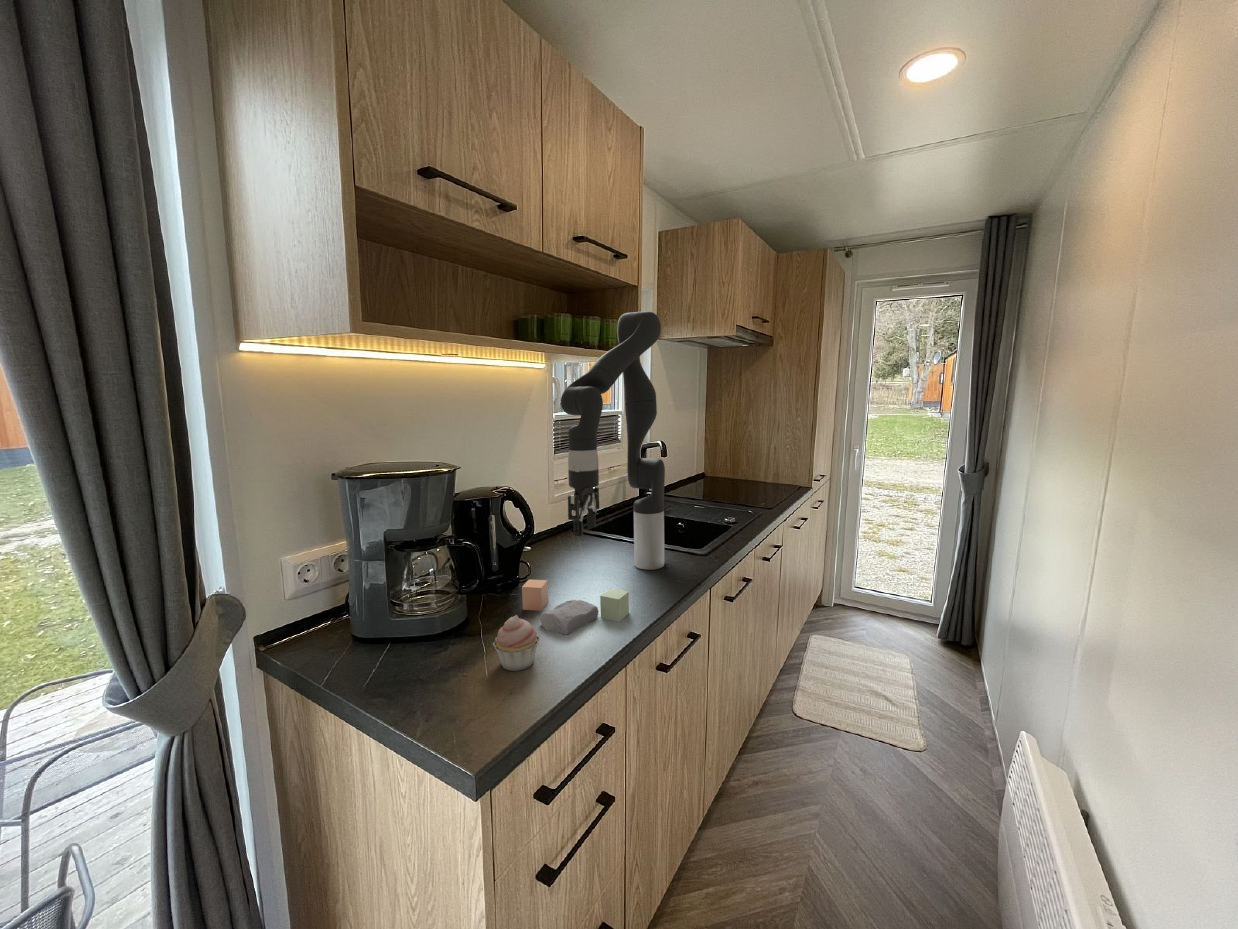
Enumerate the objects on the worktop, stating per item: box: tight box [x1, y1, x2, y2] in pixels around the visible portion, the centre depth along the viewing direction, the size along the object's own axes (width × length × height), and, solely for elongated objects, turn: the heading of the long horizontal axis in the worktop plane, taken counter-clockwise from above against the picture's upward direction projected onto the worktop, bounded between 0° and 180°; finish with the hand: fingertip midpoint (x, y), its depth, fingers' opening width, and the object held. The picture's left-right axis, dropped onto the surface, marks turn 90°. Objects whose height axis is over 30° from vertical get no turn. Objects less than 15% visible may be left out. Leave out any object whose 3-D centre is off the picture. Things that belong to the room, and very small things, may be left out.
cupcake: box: [492, 614, 542, 672], centre depth 99 cm, size 9×9×10 cm
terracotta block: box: [521, 578, 549, 612], centre depth 126 cm, size 5×5×6 cm
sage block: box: [599, 588, 630, 622], centre depth 120 cm, size 5×5×6 cm
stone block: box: [540, 599, 599, 636], centre depth 117 cm, size 12×5×10 cm
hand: (585, 531), depth 126 cm, fingers open, 8 cm apart
